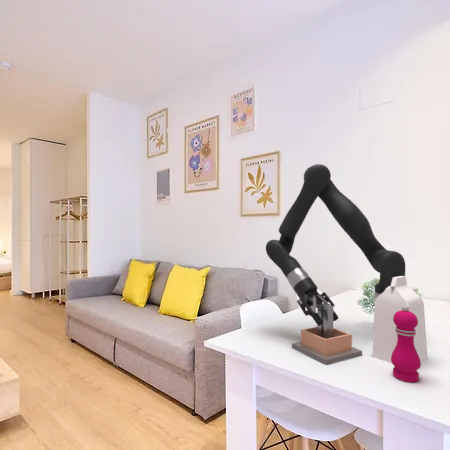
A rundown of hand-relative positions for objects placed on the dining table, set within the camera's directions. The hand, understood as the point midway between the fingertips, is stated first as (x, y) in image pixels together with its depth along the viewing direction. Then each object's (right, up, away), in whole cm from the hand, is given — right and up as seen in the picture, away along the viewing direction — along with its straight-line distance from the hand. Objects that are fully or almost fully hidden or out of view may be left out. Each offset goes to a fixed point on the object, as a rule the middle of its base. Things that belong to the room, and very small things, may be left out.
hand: (329, 322), depth 106 cm
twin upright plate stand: (-1, -9, +1) cm, 9 cm away
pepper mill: (+16, -10, -18) cm, 26 cm away
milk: (+21, -10, -4) cm, 24 cm away
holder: (-1, -10, +1) cm, 10 cm away
